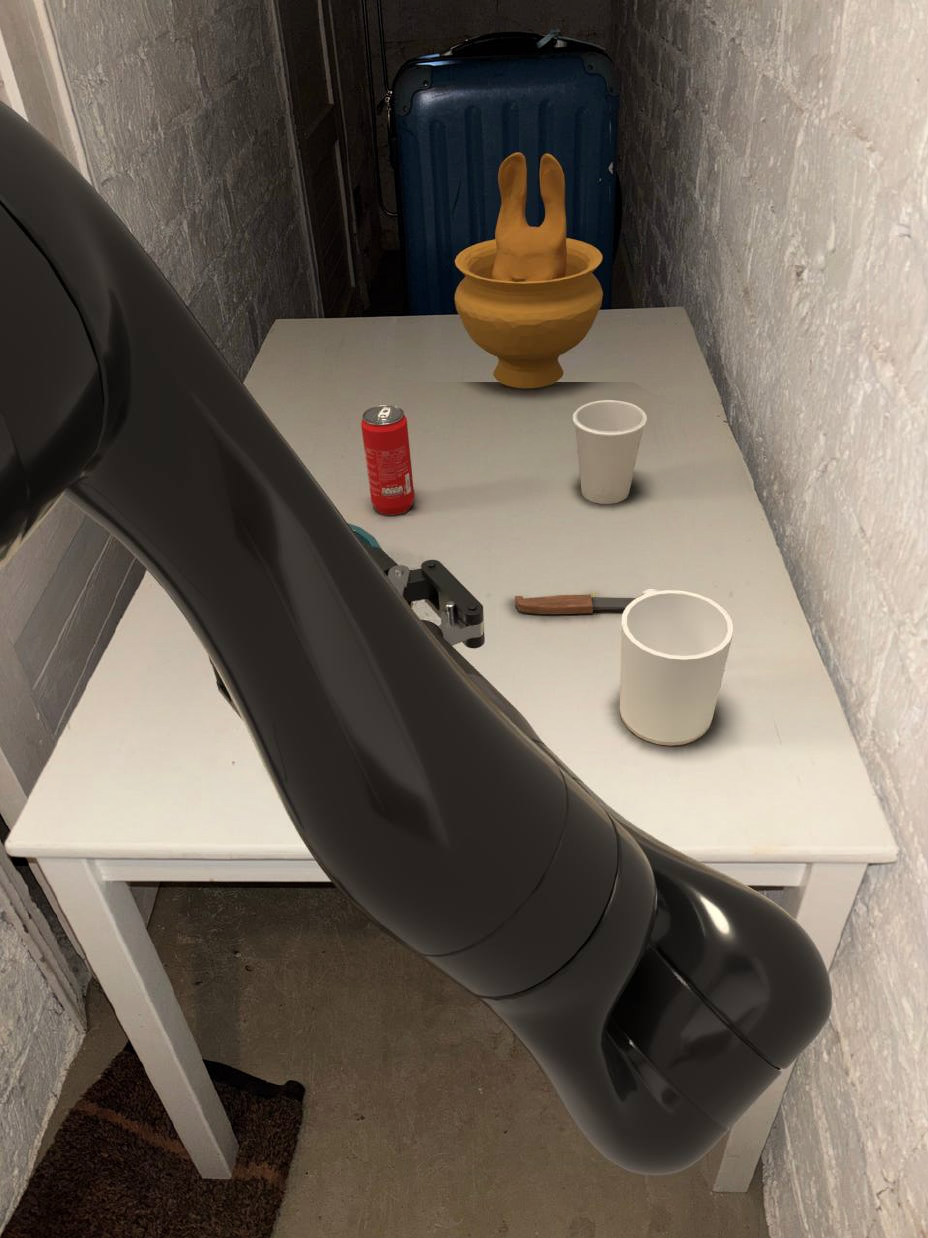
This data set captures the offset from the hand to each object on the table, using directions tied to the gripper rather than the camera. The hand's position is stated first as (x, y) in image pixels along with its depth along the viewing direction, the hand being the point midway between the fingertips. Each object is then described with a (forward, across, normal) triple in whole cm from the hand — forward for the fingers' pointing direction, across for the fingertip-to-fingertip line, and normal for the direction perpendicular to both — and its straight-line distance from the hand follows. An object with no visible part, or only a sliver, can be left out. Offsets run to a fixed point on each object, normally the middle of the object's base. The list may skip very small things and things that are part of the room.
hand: (295, 580), depth 54 cm
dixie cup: (+29, -50, +26) cm, 63 cm away
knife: (+12, -35, +26) cm, 45 cm away
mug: (-2, -30, +26) cm, 40 cm away
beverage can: (+42, -28, +26) cm, 57 cm away
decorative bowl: (+62, -63, +26) cm, 92 cm away
